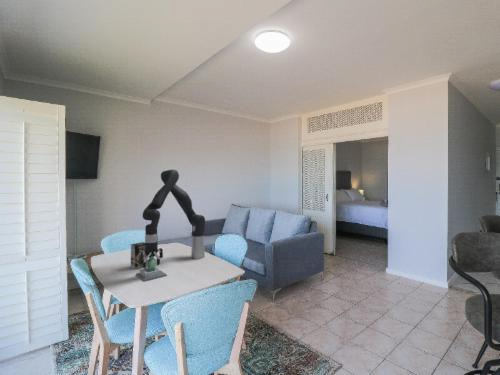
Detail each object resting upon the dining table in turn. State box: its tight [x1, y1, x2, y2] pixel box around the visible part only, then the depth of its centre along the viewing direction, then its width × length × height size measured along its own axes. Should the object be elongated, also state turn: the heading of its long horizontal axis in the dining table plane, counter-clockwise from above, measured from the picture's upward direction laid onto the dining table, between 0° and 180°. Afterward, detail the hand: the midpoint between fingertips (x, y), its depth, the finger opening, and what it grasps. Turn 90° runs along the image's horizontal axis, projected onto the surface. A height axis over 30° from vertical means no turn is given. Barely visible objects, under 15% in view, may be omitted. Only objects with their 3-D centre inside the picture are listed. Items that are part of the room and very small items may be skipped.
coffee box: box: [130, 241, 148, 270], centre depth 183 cm, size 9×6×16 cm
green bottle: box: [146, 256, 157, 272], centre depth 168 cm, size 5×5×12 cm
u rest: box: [135, 266, 168, 282], centre depth 168 cm, size 14×14×4 cm
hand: (151, 266), depth 168 cm, fingers open, 8 cm apart
